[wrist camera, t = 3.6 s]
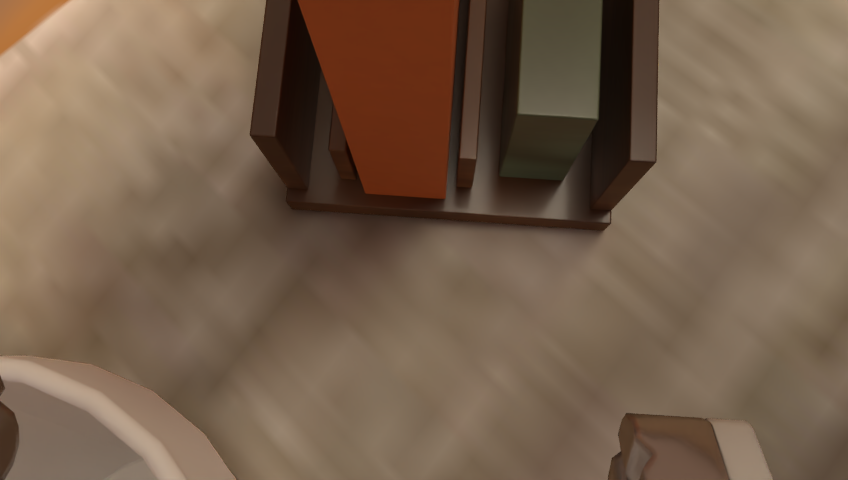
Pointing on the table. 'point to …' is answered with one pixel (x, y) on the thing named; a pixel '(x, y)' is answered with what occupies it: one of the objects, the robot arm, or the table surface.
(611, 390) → the table surface
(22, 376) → the flower pot
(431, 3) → the book
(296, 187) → the rack
